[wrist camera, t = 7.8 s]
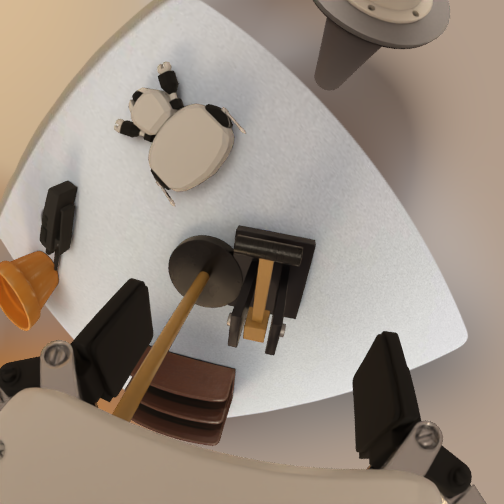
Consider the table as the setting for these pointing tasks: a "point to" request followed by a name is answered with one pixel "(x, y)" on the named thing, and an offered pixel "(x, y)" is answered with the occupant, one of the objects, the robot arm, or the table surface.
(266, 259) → the switch lever
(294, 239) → the black pivot bracket
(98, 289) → the table surface
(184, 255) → the desk lamp
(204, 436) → the letter holder
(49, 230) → the walkie-talkie
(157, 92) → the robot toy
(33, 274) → the flower pot
